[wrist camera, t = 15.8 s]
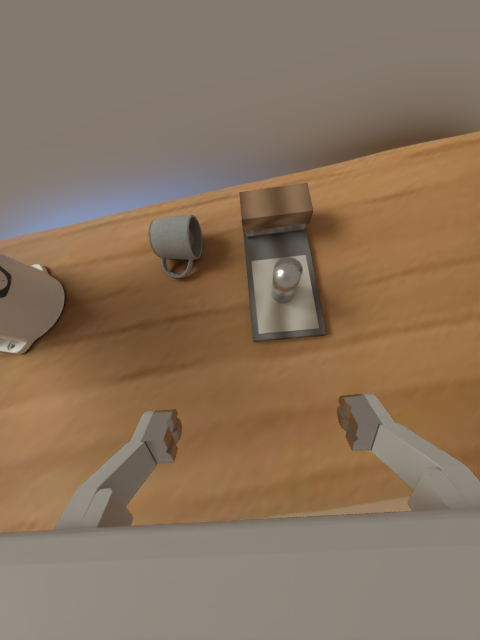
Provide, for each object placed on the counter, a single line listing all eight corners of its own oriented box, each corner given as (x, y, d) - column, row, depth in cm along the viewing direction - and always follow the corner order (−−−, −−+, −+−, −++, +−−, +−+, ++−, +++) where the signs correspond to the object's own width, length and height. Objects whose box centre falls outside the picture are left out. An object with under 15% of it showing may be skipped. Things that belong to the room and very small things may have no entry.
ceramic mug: (166, 235, 45) (148, 207, 38) (204, 234, 44) (192, 205, 37) (159, 280, 42) (138, 259, 35) (199, 280, 42) (186, 259, 34)
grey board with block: (253, 341, 37) (252, 333, 31) (242, 219, 45) (239, 192, 38) (324, 335, 36) (337, 325, 30) (300, 211, 44) (307, 182, 37)
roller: (272, 304, 37) (275, 284, 29) (269, 283, 38) (272, 258, 31) (295, 302, 37) (304, 280, 29) (292, 281, 38) (300, 255, 30)
